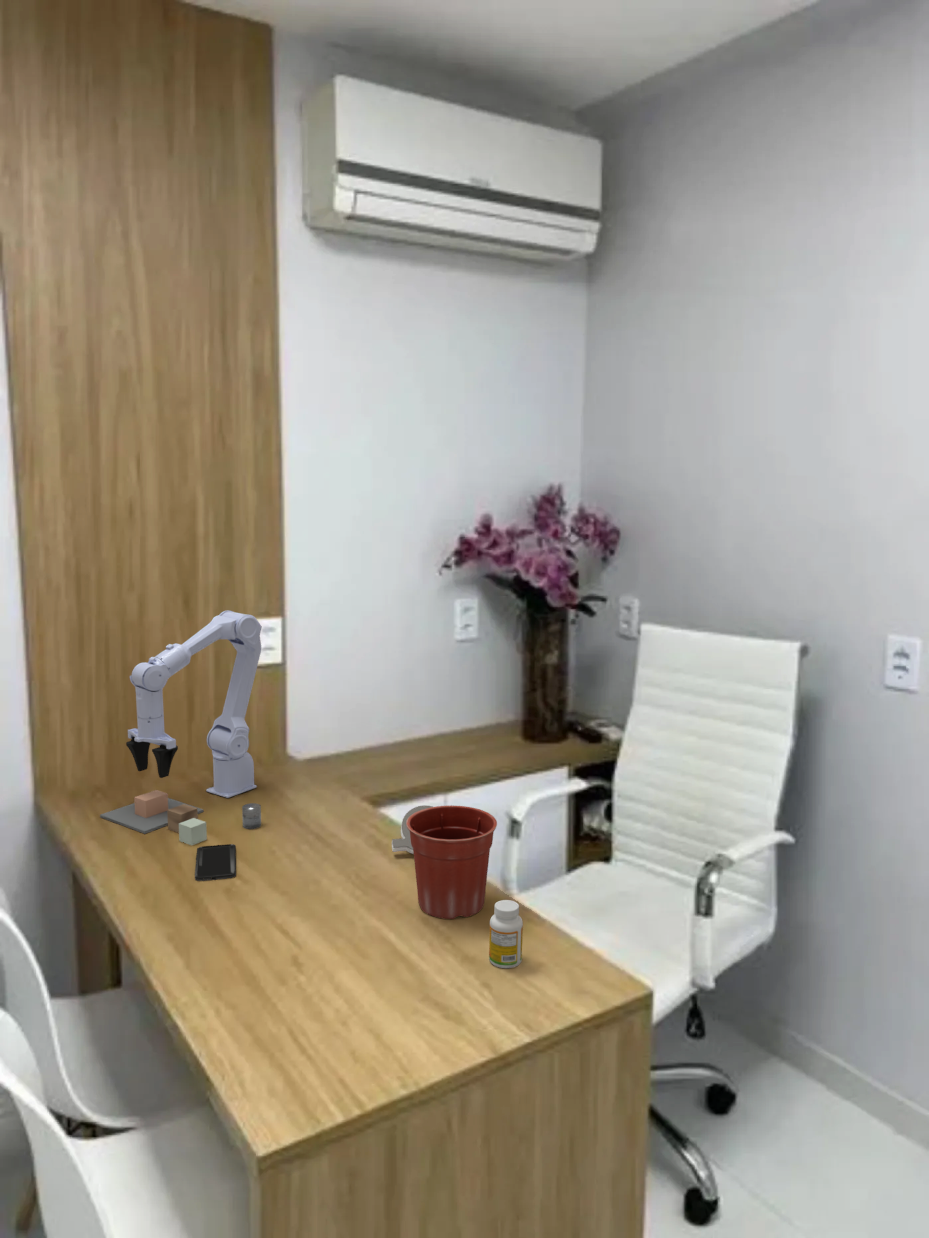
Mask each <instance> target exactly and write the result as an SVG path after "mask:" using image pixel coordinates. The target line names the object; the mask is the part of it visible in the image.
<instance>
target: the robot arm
mask: <svg viewBox="0 0 929 1238" xmlns="http://www.w3.org/2000/svg"><path fill="white" fill-rule="evenodd" d="M261 631H262V625H261V623H260V622H259V620H258V619H257V618H256V616H254V615H252V614H245V613H240V612H235V611H233V610H230V609H229V610H227V609H226V610H224V611H222V612H220V613H219V615H218V614H217V615H216V616H214V617H213V618H212V620H211V621H210V622H208V624H207V625H205V626H203V628H201V629H200V630H198V631H197V632H196V633H195V634H193V635H192V636H191V637H189V638H188V639H187V640H186V641H184V642H183V643H182V644H181V643H173V644H171V643H168V644H167V645H166V646H165V648H166V649H164V650H162V651H161V652H160V653H158V654H156V655H155V656H151V657H149V658H148V662H145V661H144V662H140V663H138V664H137V665H135V666H134V668H133V670H132V672H131V674H130V675H129V681H130V683H131V684H132V685H133V687H134V688H135V701H136V702H135V704H136V705H135V706H136V718H137V719H136V720H137V728H135V727H134V728H131V729H127V739H130V740H129V741H127V742H126V743H125V745H126V747H127V748H128V749H129V751H130V753H131V755H132V757H133V759H134V763H135V766H136V769H137V772H142V771H145V770H147V769H148V766H149V751H150V746H151V744H154V745H157V746H159V747H156V748H152V749H151V752H152V754H153V755H154V758H155V762H156V765H157V766H156V767H157V773H158V777H159V778H160V779H163V778H166V777H169V776H170V775H169V774H170V771H171V765H172V763H173V760H174V757H175V755H176V753H177V751H178V750H179V745H177V740H176V738H173V737H171V736H170V735H169V734H168V733H166V731H165V718H164V717H165V714H164V697H163V696H164V695H163V689H164V688H165V686H166V684H167V683H168V680H169V678H171V677H172V676H174V675H175V674H176V673H178V672H179V671H181V670H183V669H184V668H185V667H186V666H188V665H189V664H190V663H191V658H192V656H193V655H195V654H197V653H199V652H200V651H202V650H203V649H206V648H207V647H208V646H210V645H212V644H213V643H215V642H217V641H219V640H228V641H229V642H230V644H232V646H233V648H234V649H235V650H236V656H235V658H234V659H235V660H234V663H233V669H232V671H231V676H230V679H229V685H228V689H227V693H226V697H225V701H224V704H223V708H222V713H221V715H219V716H218V717H216V718H215V719H214V721H213V725H212V726H211V727H212V728H211V729H210V730H209V732H208V733H207V735H206V745H207V746H208V748H209V749H210V750H211V755H212V767H213V771H212V772H213V786H212V787H208V788H206V792H208V793H211V794H213V795H217V796H221V797H224V798H226V799H229V798H231V797H232V798H233V797H234V796H237V795H240V794H242V793H245V792H248V791H251V790H253V789H256V788H257V787H258V786H257V785H256V784H255V766H254V765H255V764H254V759H253V757H252V755H251V754H250V753H249V752H248V749H249V747H250V740H249V733H250V727H249V726H248V724H247V722H246V720H245V718H246V715H247V710H248V705H249V703H250V702H249V701H250V698H251V694H252V689H253V686H254V683H255V682H254V681H255V677H256V673H257V669H258V666H259V661H260V657H261V653H262V643H261V641H262V640H261Z"/></svg>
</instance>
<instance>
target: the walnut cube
mask: <svg viewBox="0 0 929 1238" xmlns="http://www.w3.org/2000/svg"><path fill="white" fill-rule="evenodd" d="M185 804H186V803H185ZM185 804H183V805H180V806H177V807H174V808H171V809H169V810H167V815H168V825H167V829H168V830H170V831H173V832H175V833H178V834H179V823H182V822H184V821H187V820H190V819H192V818H196V819H199V814H198V811H197V808H198V807H197V808H195V807H196V806H194V807H192V806H193V805H191V806H188V805H189V804H188V805H185Z"/></svg>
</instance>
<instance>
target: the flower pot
mask: <svg viewBox="0 0 929 1238" xmlns="http://www.w3.org/2000/svg"><path fill="white" fill-rule="evenodd" d="M406 824H407V828H408V830H409V831H410V838H411V845H412V847H413V852H414V854H413V858H414V859H413V860H414V870H415V879H416V888H417V889H416V891H417V903H418V905H419V907H420V908H421V910H422V911H423V912H424V913H425V914H427V915H429V916H430V917H434V918H437V919H438V918H439V919H445V920H454V919H456V918H458V917H462V918H463V917H464V918H468V917H471V916H474V915H476V914H477V913H479V912H480V911H481V910H482V909H483V908H484V906H485V900H486V899H485V898H486V891H487V890H486V889H487V879H488V871H489V869H488V868H489V861H490V860H489V859H490V853H491V848H492V846H493V839H494V832H495V830H496V829H497V826H498V821H497V818H495V816H493V815H492V814H491V813H490V812H487V811H485V810H483V809H479V808H476V807H472V806H465V805H464V806H463V805H452V804H451V805H438V806H433V807H431V808H427V809H423V810H420V811H418V812H415V813H414V814H412V815H411V816H410V817H409V818H408V819H407V821H406Z"/></svg>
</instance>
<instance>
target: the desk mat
mask: <svg viewBox="0 0 929 1238" xmlns="http://www.w3.org/2000/svg"><path fill="white" fill-rule="evenodd" d="M183 804H185V805H188V806H192V807H195V808H197V811H198V815H199V814H201V813H204V809H203V808H200V807H197V806H194V805H191V804H187V803H185V802H182V801H178V800H176V799H174V798H173V799H172V798H170V797H168V810H169V809H171V808H174V807H177V806H180V805H183ZM99 817H100V819H101V818H102V819H104V820H106V821H109V822H112V823H114V824H118V825H120V826H122V827H125V828H128V829H130V830H133V831H136V832H139V833H142V834H148V833H151V832H154V831H156V830H159V829H161V828H164V827H168V815H167V811H165V812H162V813H159V814H156V815H153V816H151V817H148V818H145V817H142V816H139V815H136V814H135V802H133V803H131V804H128V805H124V806H121V807H118V808H116V809H114V810H111V811H106V812H104V813H101V814H99Z"/></svg>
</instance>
